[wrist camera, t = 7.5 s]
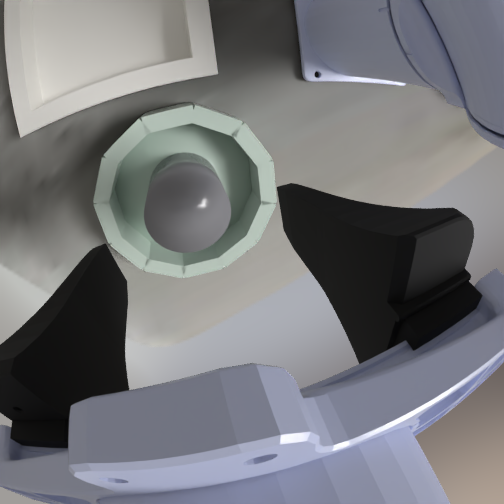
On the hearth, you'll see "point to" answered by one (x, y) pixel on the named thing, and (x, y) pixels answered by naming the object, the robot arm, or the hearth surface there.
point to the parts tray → (99, 52)
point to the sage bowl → (179, 141)
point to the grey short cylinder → (186, 204)
